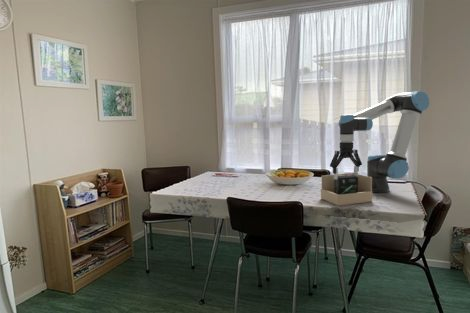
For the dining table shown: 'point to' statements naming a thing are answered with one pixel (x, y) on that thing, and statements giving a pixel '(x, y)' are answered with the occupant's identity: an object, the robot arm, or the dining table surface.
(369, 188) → the carton
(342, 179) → the tampon box
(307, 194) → the dining table surface
